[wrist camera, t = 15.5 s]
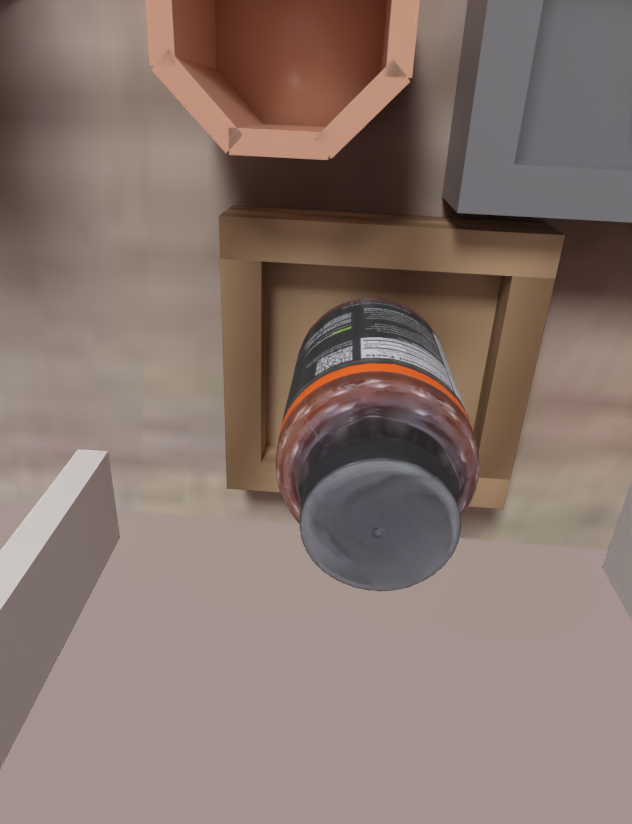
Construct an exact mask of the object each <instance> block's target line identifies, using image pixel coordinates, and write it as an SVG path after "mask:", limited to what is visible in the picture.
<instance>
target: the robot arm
mask: <svg viewBox="0 0 632 824" xmlns="http://www.w3.org/2000/svg"><path fill="white" fill-rule="evenodd" d="M119 538H120V535H119V528H118V520H117V514H116V506H115V498H114V491H113V484H112V476H111V469H110V461H109V454H108V451H96V450H79V449H78V450H77V451H76V453H75V454H74V455H73V457H72V458H71V459H70V461H69V462H68V463H67V465H66V466H65V467H64V468H63V470H62V471H61V472H60V474H59V475H58V476H57V478H56V479H55V480H54V481H53V483H52V484H51V485H50V487H49V488H48V489H47V491H46V492H45V493H44V494H43V496H42V497H41V498H40V500H39V501H38V502H37V504H36V505H35V506H34V507H33V509H32V510H31V511H30V513H29V514H28V515H27V517H26V518H25V519H24V520H23V522H22V523H21V524H20V526H19V527H18V528H17V530H16V531H15V532H14V533H13V535H12V536H11V537H10V539H9V540H8V541H7V543H6V544H5V545H4V547H3V548H2V549H1V550H0V768H1V766H2V764H3V763H4V761H5V759H6V757H7V755H8V753H9V751H10V749H11V747H12V745H13V743H14V741H15V739H16V737H17V735H18V733H19V732H20V730H21V728H22V726H23V724H24V722H25V720H26V718H27V716H28V714H29V712H30V710H31V708H32V706H33V704H34V703H35V701H36V699H37V697H38V695H39V693H40V691H41V689H42V687H43V685H44V683H45V681H46V679H47V677H48V675H49V673H50V672H51V670H52V668H53V666H54V664H55V662H56V660H57V658H58V656H59V654H60V652H61V650H62V648H63V646H64V645H65V643H66V641H67V639H68V637H69V635H70V633H71V631H72V629H73V627H74V625H75V623H76V621H77V619H78V617H79V616H80V614H81V612H82V610H83V608H84V606H85V604H86V602H87V600H88V598H89V596H90V594H91V592H92V590H93V588H94V586H95V584H96V583H97V581H98V579H99V577H100V575H101V573H102V571H103V569H104V567H105V565H106V563H107V561H108V559H109V557H110V555H111V553H112V552H113V550H114V548H115V546H116V544H117V542H118V540H119ZM602 568H603V569H604V571H605V573H606V575H607V577H608V578H609V580H610V582H611V584H612V586H613V587H614V589H615V591H616V593H617V594H618V596H619V598H620V600H621V602H622V604H623V605H624V607H625V609H626V611H627V612H628V614H629V616H630V618H631V620H632V482H631V484H630V487H629V490H628V493H627V496H626V499H625V502H624V505H623V508H622V511H621V514H620V517H619V520H618V522H617V525H616V528H615V531H614V534H613V537H612V540H611V543H610V546H609V549H608V552H607V555H606V558H605V561H604V564H603V567H602Z"/></svg>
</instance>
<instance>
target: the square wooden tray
mask: <svg viewBox="0 0 632 824" xmlns="http://www.w3.org/2000/svg"><path fill="white" fill-rule="evenodd" d="M219 232H220V267H221V301H222V336H223V371H224V405H225V440H226V474H227V489H241V490H254V491H267V492H280V490H279V487H278V482H277V477H276V463H275V461H276V450H277V445H278V440H279V433H280V429H281V425H282V420H283V416H284V411H285V408H286V404H287V399H288V395H289V391H290V387H291V383H292V379H293V375H294V370H295V365H296V362H297V358H298V354H299V351H300V348H301V346H302V343H303V341H304V339H305V337H306V335H307V333H308V331H309V330H310V328H311V327H312V326H313V325H314V323H315V322H316V321H317V320H318V319H319V318H320V317H321V316H323V315H324V314H325V313H327V312H328V311H329V310H331V309H332V308H334V307H336V306H338V305H340V304H342V303H345V302H348V301H352V300H357V299H360V298H382V299H387V300H392V301H395V302H398V303H400V304H403V305H405V306H407V307H409V308H410V309H412V310H414V311H415V312H417V313H418V314H419V315H420V316H422V318H423V319H424V320H426V322H427V323H428V324H429V325H430V327H431V329H432V330H433V332H434V333H435V335H436V337H437V338H438V340H439V342H440V345H441V347H442V349H443V352H444V354H445V356H446V360H447V362H448V364H449V367H450V370H451V372H452V375H453V377H454V381H455V383H456V386H457V388H458V391H459V393H460V396H461V398H462V402H463V404H464V406H465V409H466V411H467V414H468V416H469V420H470V424H471V426H472V429H473V432H474V435H475V438H476V443H477V446H478V453H479V477H478V483H477V486H476V491H475V493H474V496H473V498H472V501H471V503H470V504H469V506H468V507H482V508H495V509H503V508H504V504H505V499H506V495H507V490H508V486H509V482H510V477H511V473H512V468H513V464H514V459H515V455H516V451H517V446H518V442H519V437H520V433H521V428H522V424H523V420H524V415H525V411H526V406H527V402H528V397H529V393H530V389H531V384H532V380H533V375H534V371H535V366H536V362H537V358H538V353H539V349H540V344H541V340H542V335H543V331H544V327H545V322H546V318H547V313H548V309H549V304H550V300H551V296H552V291H553V287H554V282H555V278H556V273H557V269H558V265H559V260H560V256H561V251H562V247H563V242H564V238H565V235H564V234H562V233H560V232H559V231H557V230H555V229H554V228H552V227H551V226H549V225H547V224H546V223H534V222H516V221H498V220H480V219H462V218H444V217H426V216H408V215H390V214H372V213H354V212H336V211H318V210H300V209H282V208H264V207H245V206H232V207H230V208H229V209H228V210H226V211H225V212H224V213H222V214H221V215H220V216H219Z"/></svg>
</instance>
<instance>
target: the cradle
mask: <svg viewBox="0 0 632 824" xmlns="http://www.w3.org/2000/svg"><path fill="white" fill-rule="evenodd" d="M442 197H443V198H444V199H445V200H446V201H447V202H448V203H449V204H450V206H451V207H452V208H453V209H454V210H455V211H456V212H457V213H467V214H485V215H503V216H522V217H540V218H558V219H576V220H594V221H612V222H630V223H632V0H468V4H467V12H466V20H465V27H464V35H463V43H462V50H461V58H460V65H459V73H458V81H457V88H456V96H455V103H454V111H453V119H452V126H451V134H450V141H449V149H448V157H447V164H446V172H445V179H444V187H443V195H442Z"/></svg>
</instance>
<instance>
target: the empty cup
mask: <svg viewBox="0 0 632 824" xmlns="http://www.w3.org/2000/svg"><path fill="white" fill-rule="evenodd" d="M419 5H420V0H145V10H146V24H147V38H148V52H149V66H153V68H152V69H151V70H152V71H153V72H154V73H155V75H156V76H157V77H158V78H159V79H160V80H161V81H162V82H163V84H164V85H165V86H166V87H167V88H168V89H169V90H170V91H171V93H172V94H173V95H174V96H175V97H176V98H177V99H178V100H179V101H180V103H181V104H182V105H183V106H184V107H185V108H186V109H187V110H188V112H189V113H190V114H191V115H192V116H193V117H194V118H195V119H196V121H197V122H198V123H199V124H200V125H201V126H202V127H203V128H204V129H205V131H206V132H207V133H208V134H209V135H210V136H211V137H212V138H213V140H214V141H215V142H216V143H217V144H218V145H219V146H220V147H221V149H222V150H223V151H224V152H225V153H229V155H240V156H260V157H279V158H298V159H317V160H329V158H331V159H332V158H333V157H334V156H335V155H336V154H337V153H338V152H339V151H340V150H341V149H342V148H343V147H344V146H345V145H346V144H347V143H348V142H349V141H350V140H351V139H352V138H353V137H354V136H355V135H356V134H357V133H358V132H359V131H360V130H361V129H363V128H364V127H365V126H366V125H367V124H368V123H369V122H370V121H371V120H372V119H373V118H374V117H375V116H376V115H377V114H378V113H379V112H380V111H381V110H382V109H383V108H384V107H385V106H386V105H387V104H388V103H389V102H390V101H391V100H392V99H393V98H394V97H395V96H396V95H397V94H398V93H399V92H400V91H401V90H402V89H403V88H404V87H405V86H406V85H407V84H409V83H410V80H409V79H411V78H412V74H413V64H414V54H415V45H416V35H417V25H418V15H419Z"/></svg>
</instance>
